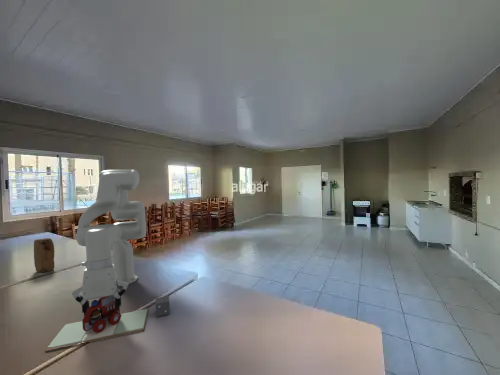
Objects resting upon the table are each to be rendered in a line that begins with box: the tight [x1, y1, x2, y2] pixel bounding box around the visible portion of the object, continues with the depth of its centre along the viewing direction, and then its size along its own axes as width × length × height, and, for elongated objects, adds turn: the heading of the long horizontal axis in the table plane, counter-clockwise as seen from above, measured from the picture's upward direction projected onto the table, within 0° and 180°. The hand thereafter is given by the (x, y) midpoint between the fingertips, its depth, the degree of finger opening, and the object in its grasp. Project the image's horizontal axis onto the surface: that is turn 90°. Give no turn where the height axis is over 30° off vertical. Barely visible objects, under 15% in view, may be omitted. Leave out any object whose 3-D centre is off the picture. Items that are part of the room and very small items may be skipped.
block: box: [33, 237, 55, 273], centre depth 145 cm, size 11×8×20 cm
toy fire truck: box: [82, 295, 122, 333], centre depth 83 cm, size 7×12×10 cm, turn 148°
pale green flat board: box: [47, 308, 149, 347], centre depth 83 cm, size 14×28×1 cm, turn 108°
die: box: [155, 295, 171, 318], centre depth 91 cm, size 5×5×5 cm
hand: (102, 310), depth 82 cm, fingers open, 9 cm apart
